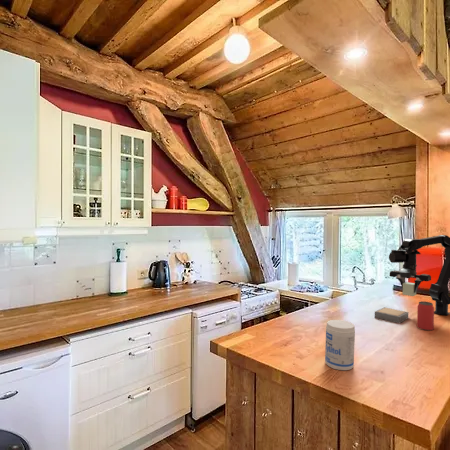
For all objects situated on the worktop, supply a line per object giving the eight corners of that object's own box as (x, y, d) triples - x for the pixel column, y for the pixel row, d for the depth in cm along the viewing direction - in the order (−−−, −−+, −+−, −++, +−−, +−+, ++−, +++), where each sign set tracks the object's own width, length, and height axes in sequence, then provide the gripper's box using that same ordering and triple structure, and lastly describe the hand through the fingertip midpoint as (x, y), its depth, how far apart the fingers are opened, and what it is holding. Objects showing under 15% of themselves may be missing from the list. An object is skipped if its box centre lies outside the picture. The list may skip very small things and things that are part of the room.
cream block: (406, 293, 178) (406, 282, 178) (416, 294, 174) (416, 283, 174) (402, 294, 174) (402, 283, 174) (412, 296, 171) (413, 284, 171)
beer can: (436, 331, 149) (436, 305, 148) (420, 330, 150) (420, 304, 150) (430, 326, 155) (430, 301, 155) (414, 325, 156) (415, 300, 156)
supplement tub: (320, 365, 114) (321, 324, 114) (331, 356, 121) (331, 317, 121) (348, 374, 108) (349, 330, 107) (358, 364, 115) (358, 323, 115)
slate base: (384, 312, 177) (384, 307, 177) (408, 318, 168) (408, 311, 168) (374, 317, 169) (374, 311, 169) (399, 323, 160) (399, 316, 160)
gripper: (385, 262, 175) (385, 290, 176) (424, 266, 161) (423, 297, 162) (393, 260, 183) (393, 287, 183) (431, 264, 169) (431, 294, 169)
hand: (409, 291), depth 174 cm, fingers closed on cream block, 5 cm apart
